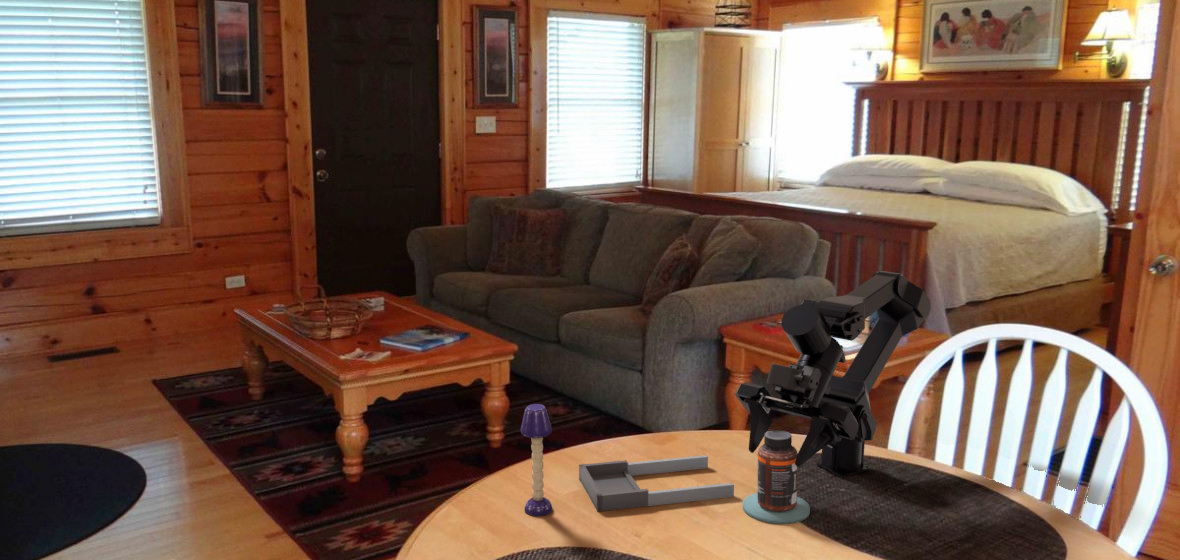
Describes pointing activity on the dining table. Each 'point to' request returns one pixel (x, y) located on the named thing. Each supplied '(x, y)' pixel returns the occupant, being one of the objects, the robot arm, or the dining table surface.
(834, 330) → the robot arm
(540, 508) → the toy lamp
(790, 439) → the supplement bottle
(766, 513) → the pad
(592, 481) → the trap channel
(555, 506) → the dining table surface
